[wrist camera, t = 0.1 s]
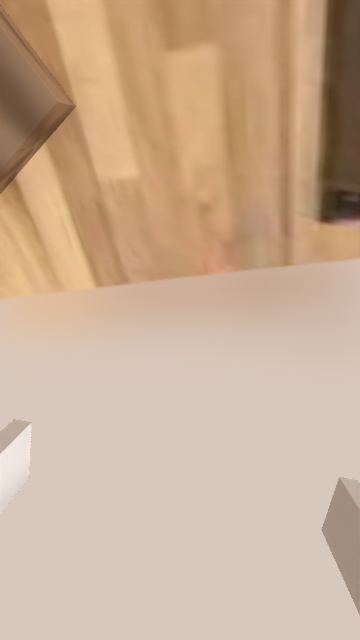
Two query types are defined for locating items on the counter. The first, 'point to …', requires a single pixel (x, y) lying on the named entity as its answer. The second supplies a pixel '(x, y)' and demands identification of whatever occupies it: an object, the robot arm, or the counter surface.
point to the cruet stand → (25, 101)
